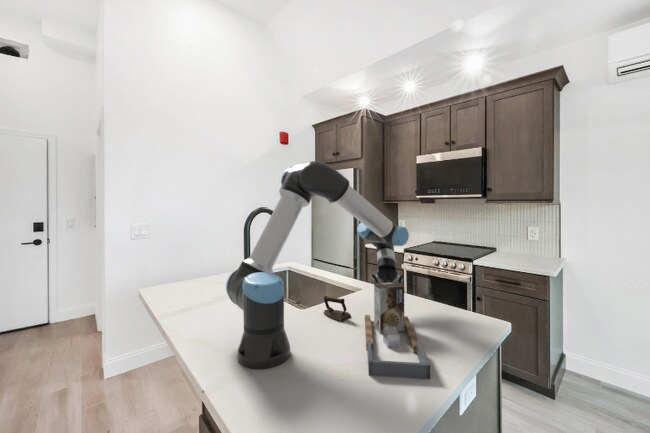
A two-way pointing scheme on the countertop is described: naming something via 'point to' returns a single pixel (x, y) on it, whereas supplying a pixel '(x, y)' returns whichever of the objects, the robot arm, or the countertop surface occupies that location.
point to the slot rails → (407, 327)
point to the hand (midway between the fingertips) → (390, 315)
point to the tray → (399, 365)
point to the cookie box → (388, 305)
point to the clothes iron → (336, 314)
